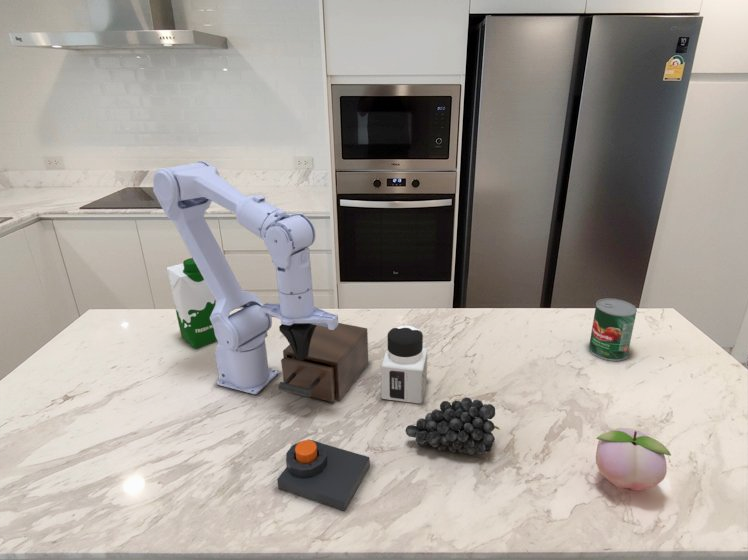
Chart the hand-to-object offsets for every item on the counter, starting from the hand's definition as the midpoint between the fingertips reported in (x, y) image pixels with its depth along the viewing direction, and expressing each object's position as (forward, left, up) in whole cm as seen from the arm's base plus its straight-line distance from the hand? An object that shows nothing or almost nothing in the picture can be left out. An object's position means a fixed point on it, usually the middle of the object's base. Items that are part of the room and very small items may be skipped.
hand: (302, 357), depth 86 cm
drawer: (0, +5, -9) cm, 11 cm away
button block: (+12, -14, -10) cm, 21 cm away
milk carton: (-35, +13, -10) cm, 39 cm away
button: (+9, -14, -7) cm, 18 cm away
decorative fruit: (+54, +1, -10) cm, 55 cm away
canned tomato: (+53, +40, -10) cm, 67 cm away
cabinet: (0, +10, -10) cm, 14 cm away
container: (+16, +11, -10) cm, 22 cm away
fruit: (+28, 0, -10) cm, 30 cm away
